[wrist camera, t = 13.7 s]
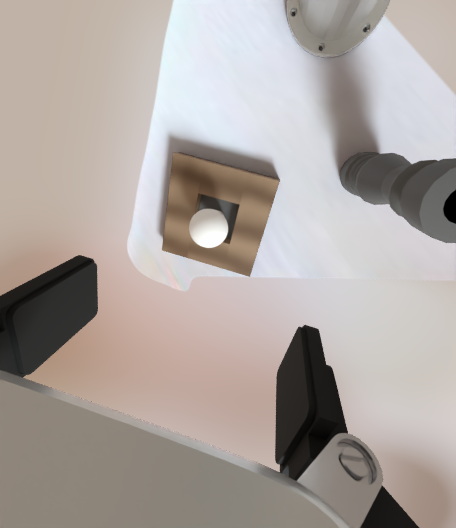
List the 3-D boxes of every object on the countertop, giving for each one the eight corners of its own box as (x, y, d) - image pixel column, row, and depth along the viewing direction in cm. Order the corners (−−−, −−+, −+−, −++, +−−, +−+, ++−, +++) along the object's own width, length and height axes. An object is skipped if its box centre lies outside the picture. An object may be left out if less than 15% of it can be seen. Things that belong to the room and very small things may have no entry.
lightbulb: (213, 192, 44) (197, 204, 34) (241, 212, 45) (232, 230, 35) (196, 219, 47) (176, 238, 37) (223, 238, 47) (210, 261, 38)
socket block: (179, 152, 43) (173, 152, 40) (279, 179, 42) (279, 181, 39) (168, 244, 51) (162, 250, 48) (251, 269, 50) (249, 276, 47)
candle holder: (347, 149, 38) (440, 148, 16) (389, 154, 37) (549, 161, 15) (334, 190, 41) (400, 238, 19) (373, 196, 40) (491, 253, 18)
